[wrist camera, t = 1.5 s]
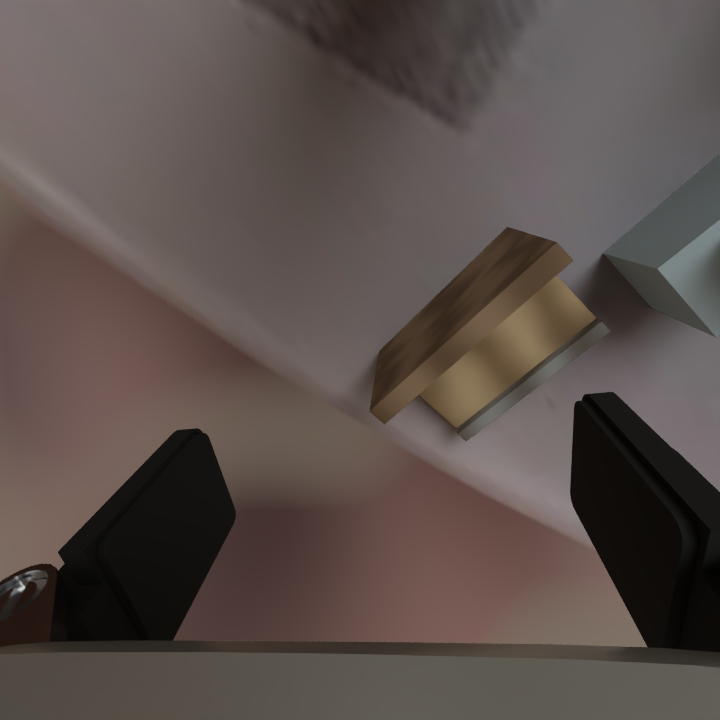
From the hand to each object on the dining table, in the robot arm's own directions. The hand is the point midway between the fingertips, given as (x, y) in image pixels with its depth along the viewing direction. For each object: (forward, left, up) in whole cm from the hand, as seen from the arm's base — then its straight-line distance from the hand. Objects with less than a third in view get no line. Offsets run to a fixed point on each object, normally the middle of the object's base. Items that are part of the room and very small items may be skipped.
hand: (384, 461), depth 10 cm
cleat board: (-1, +11, -28) cm, 30 cm away
